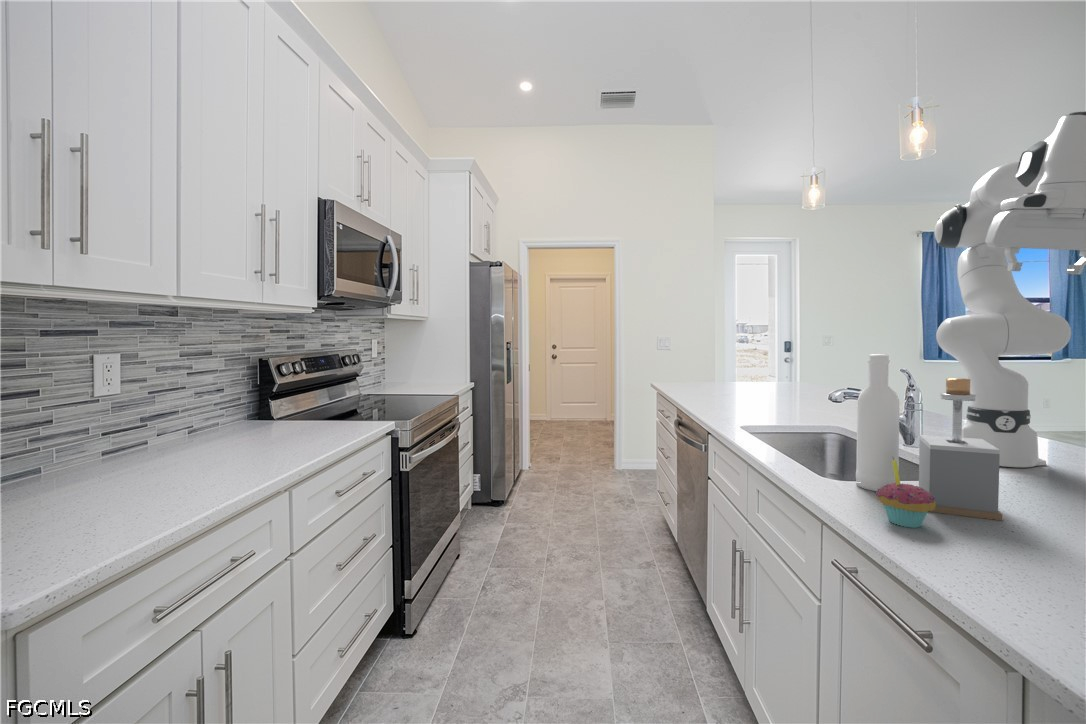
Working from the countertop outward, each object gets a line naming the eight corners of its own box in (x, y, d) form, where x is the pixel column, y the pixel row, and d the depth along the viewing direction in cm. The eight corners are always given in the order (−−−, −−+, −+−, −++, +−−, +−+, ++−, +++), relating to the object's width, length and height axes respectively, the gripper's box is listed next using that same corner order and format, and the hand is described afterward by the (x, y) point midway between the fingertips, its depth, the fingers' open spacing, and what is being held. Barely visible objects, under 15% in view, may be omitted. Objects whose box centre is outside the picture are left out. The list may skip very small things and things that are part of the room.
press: (915, 494, 101) (916, 434, 101) (983, 501, 96) (984, 438, 95) (926, 511, 92) (927, 445, 91) (1002, 520, 86) (1004, 450, 86)
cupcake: (870, 522, 87) (871, 458, 87) (884, 510, 93) (885, 450, 92) (929, 536, 81) (930, 467, 80) (940, 523, 86) (941, 458, 85)
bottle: (865, 491, 104) (867, 355, 102) (849, 481, 111) (850, 354, 110) (906, 493, 102) (909, 354, 101) (887, 482, 110) (889, 353, 108)
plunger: (927, 462, 99) (929, 376, 98) (975, 466, 95) (977, 377, 94) (936, 471, 92) (938, 380, 91) (988, 476, 88) (990, 381, 87)
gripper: (1124, 203, 91) (1100, 275, 95) (991, 201, 98) (974, 269, 102) (1150, 199, 86) (1124, 276, 89) (1007, 198, 93) (988, 270, 96)
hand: (1043, 272), depth 96 cm, fingers open, 8 cm apart
